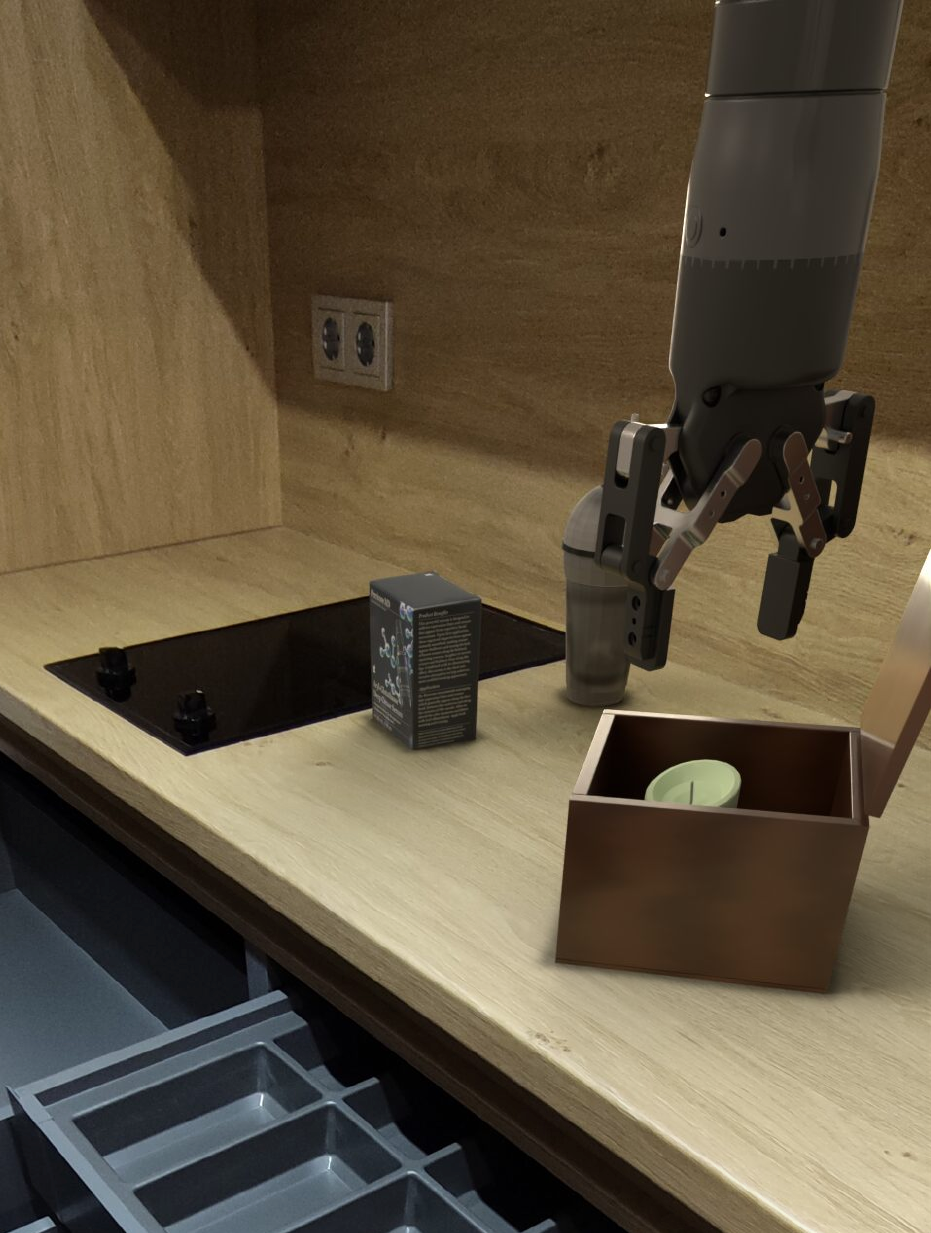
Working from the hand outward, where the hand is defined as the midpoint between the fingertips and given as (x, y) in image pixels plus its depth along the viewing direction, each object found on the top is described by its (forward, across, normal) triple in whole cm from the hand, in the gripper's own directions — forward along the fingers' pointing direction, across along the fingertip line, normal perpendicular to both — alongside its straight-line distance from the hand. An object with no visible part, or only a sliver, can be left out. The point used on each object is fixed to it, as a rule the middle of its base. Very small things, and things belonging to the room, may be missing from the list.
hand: (712, 650), depth 63 cm
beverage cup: (+16, +19, +33) cm, 41 cm away
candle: (+15, 0, 0) cm, 15 cm away
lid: (-3, +7, -7) cm, 10 cm away
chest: (+15, +1, -1) cm, 15 cm away
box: (+16, +4, +34) cm, 38 cm away
